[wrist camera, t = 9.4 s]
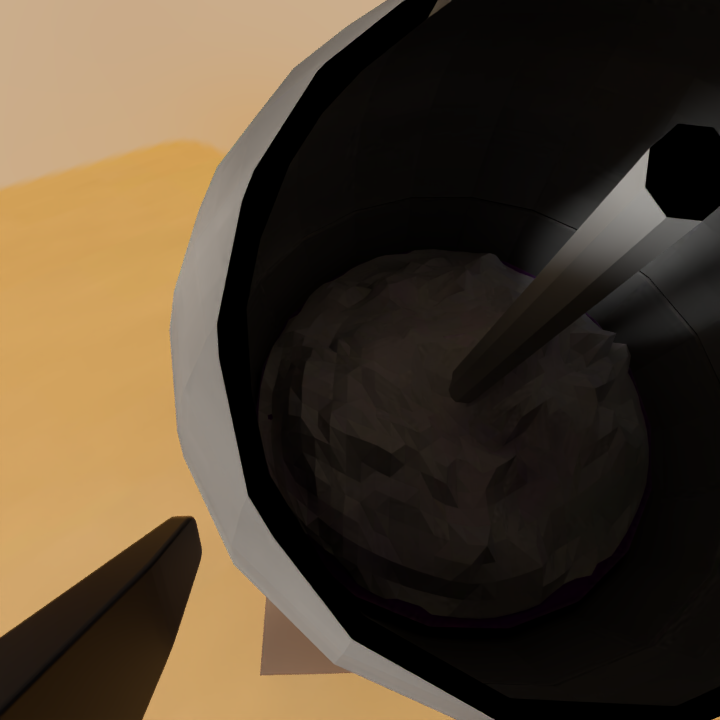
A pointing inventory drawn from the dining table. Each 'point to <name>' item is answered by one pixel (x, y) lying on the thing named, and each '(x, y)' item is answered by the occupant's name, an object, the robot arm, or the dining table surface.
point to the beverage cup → (475, 355)
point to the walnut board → (290, 648)
